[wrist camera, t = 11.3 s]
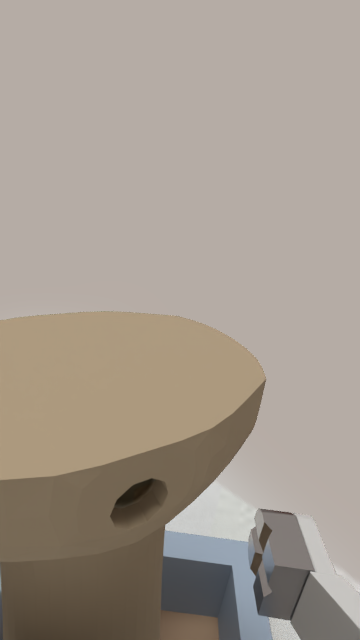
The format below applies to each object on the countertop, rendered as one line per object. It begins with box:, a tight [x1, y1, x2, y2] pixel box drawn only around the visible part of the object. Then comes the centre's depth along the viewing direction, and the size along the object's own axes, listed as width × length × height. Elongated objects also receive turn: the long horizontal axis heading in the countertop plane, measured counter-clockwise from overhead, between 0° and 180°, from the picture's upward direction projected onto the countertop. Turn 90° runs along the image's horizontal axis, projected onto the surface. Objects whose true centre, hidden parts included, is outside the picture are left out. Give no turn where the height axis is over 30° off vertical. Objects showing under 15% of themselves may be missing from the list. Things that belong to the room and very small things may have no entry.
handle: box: [0, 311, 266, 640], centre depth 8 cm, size 5×6×15 cm
